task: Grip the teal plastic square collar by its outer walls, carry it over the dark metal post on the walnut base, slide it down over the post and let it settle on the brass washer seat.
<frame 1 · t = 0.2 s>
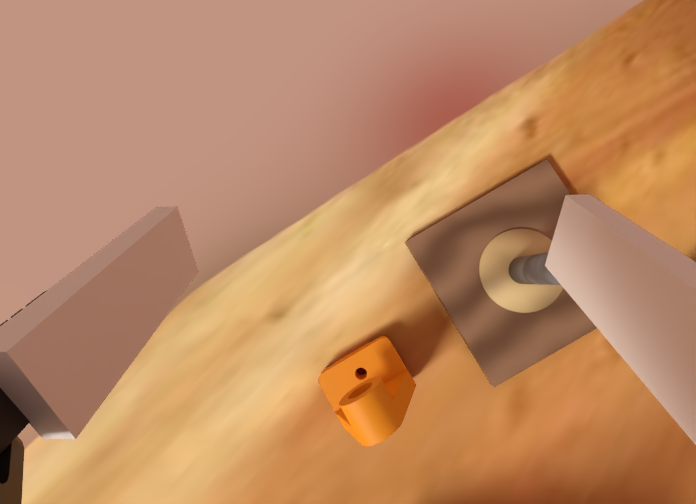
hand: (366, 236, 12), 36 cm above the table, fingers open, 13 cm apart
post base: (516, 270, 46), on the table
bracket: (365, 375, 47), on the table
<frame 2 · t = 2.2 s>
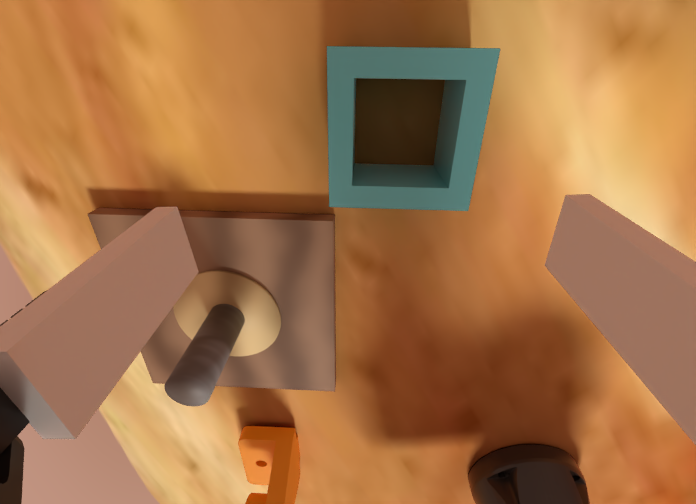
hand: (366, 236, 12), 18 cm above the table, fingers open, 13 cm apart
post base: (233, 306, 37), on the table
bracket: (274, 443, 49), on the table
collar: (397, 122, 27), on the table
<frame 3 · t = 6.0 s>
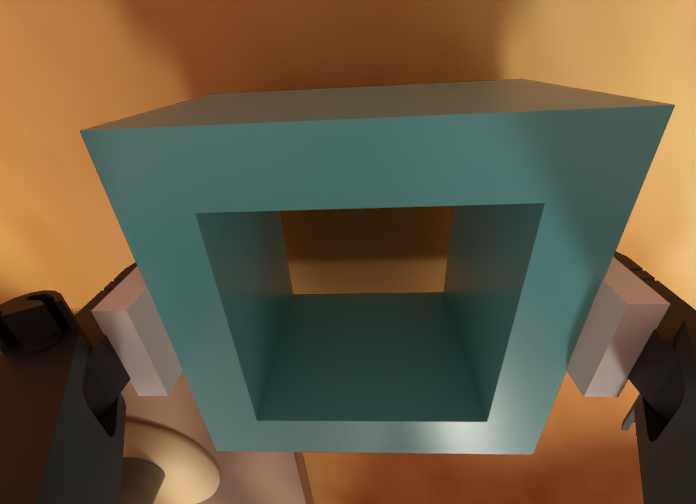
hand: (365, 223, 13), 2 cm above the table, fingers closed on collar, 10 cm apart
post base: (152, 443, 25), on the table
collar: (365, 225, 13), point 2 cm above the table, touching gripper
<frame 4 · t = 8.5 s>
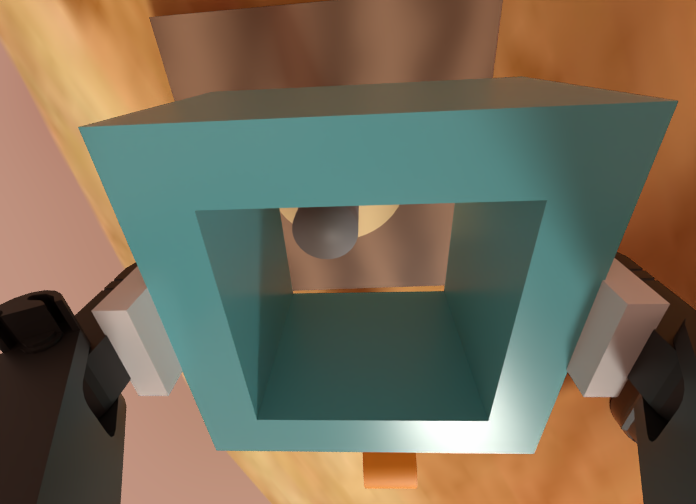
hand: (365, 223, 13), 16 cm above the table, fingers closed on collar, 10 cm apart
post base: (337, 169, 28), on the table
bracket: (372, 372, 41), on the table
collar: (366, 224, 13), point 15 cm above the table, touching gripper
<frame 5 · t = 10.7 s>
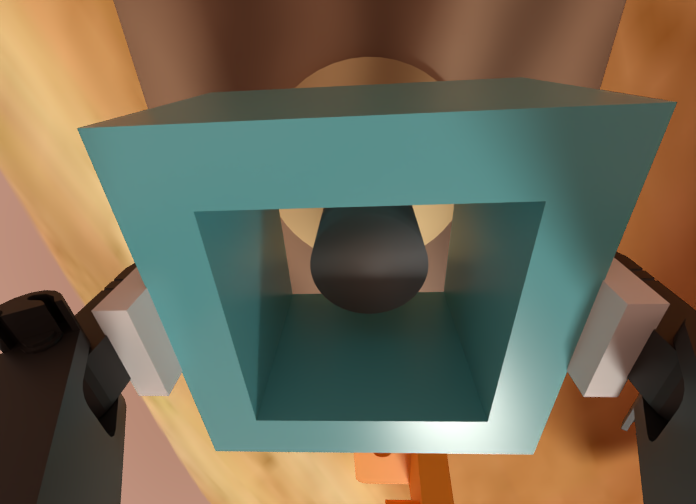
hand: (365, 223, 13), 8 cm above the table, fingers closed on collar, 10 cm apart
post base: (366, 165, 20), on the table
bracket: (392, 421, 33), on the table
collar: (365, 224, 13), point 8 cm above the table, touching gripper
when the fingers open (3 cm above the table, at t = 12.6 s): collar stays where it is, point 2 cm above the table.
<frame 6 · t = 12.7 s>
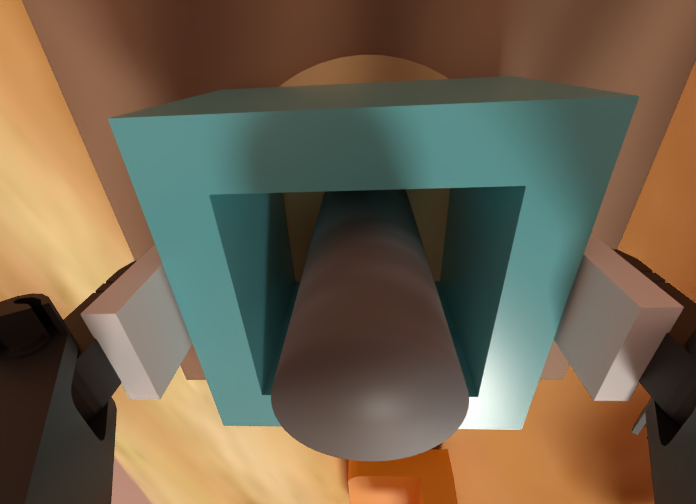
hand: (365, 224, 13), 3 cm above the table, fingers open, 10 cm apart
post base: (364, 192, 16), on the table
bracket: (395, 472, 29), on the table
collar: (365, 216, 14), point 2 cm above the table
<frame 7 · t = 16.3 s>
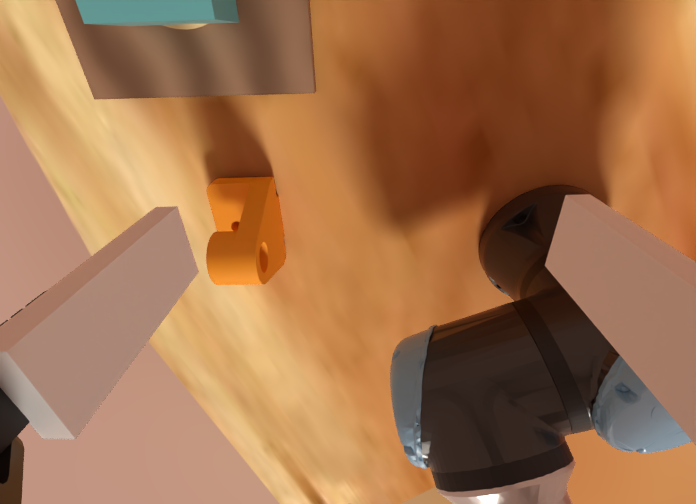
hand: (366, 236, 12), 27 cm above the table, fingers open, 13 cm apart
bracket: (253, 216, 42), on the table
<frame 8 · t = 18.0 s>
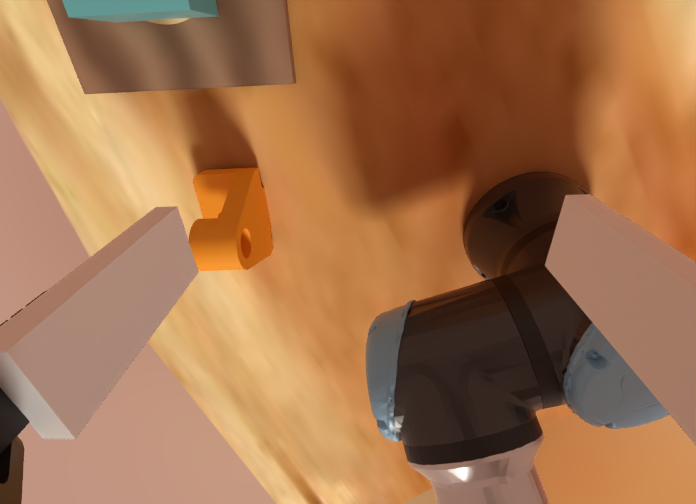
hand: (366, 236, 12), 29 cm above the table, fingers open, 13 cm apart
bracket: (240, 207, 43), on the table
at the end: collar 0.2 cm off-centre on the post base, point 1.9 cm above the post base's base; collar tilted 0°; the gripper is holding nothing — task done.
